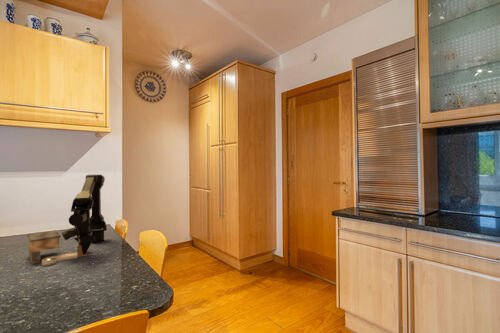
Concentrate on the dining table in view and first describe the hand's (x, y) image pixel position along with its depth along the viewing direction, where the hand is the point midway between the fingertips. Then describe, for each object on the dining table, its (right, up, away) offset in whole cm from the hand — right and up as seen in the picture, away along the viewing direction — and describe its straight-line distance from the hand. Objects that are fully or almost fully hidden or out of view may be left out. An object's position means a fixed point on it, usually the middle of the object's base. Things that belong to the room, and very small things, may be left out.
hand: (83, 253), depth 124 cm
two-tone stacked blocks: (-6, -1, -4) cm, 7 cm away
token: (-8, -1, -11) cm, 14 cm away
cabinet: (-18, -1, -2) cm, 18 cm away
